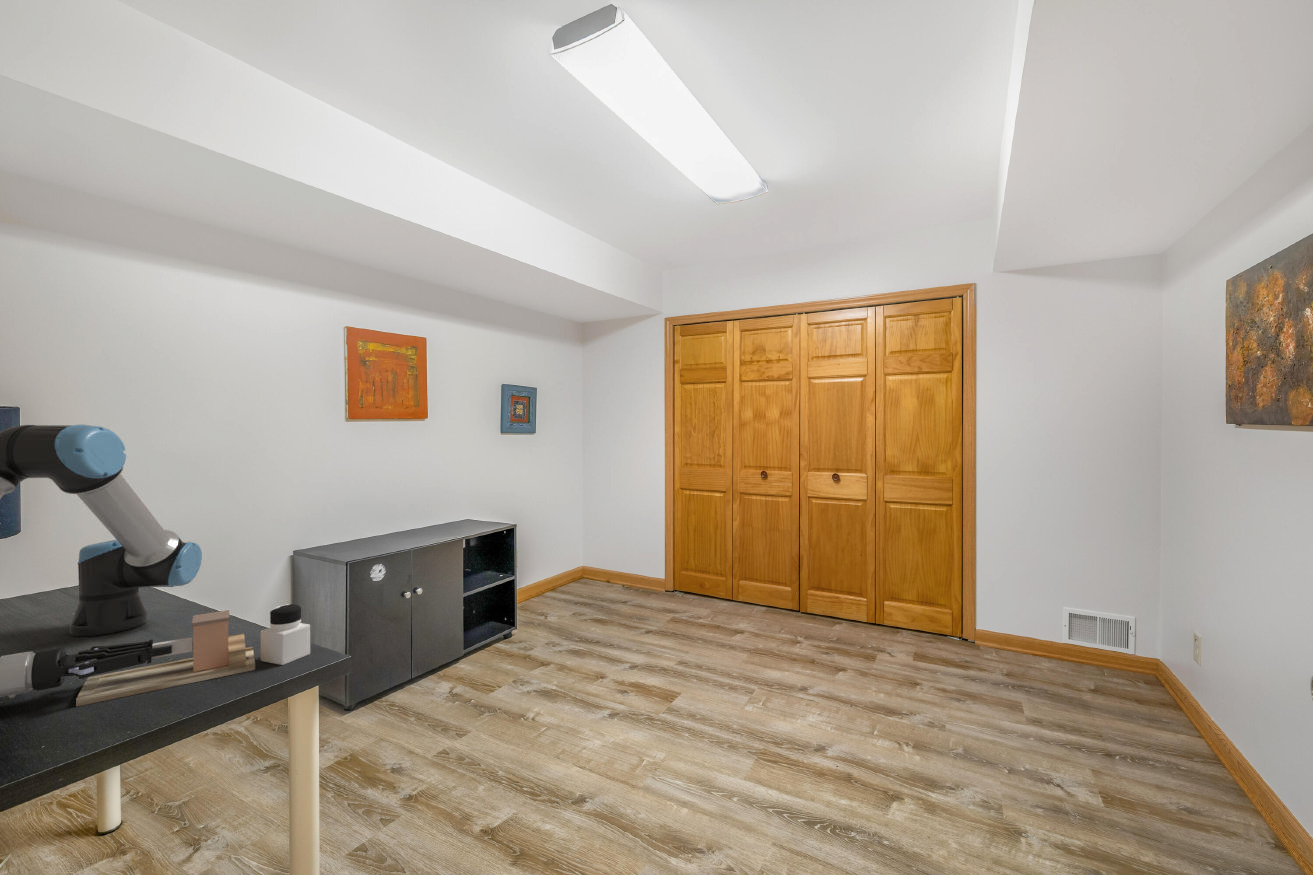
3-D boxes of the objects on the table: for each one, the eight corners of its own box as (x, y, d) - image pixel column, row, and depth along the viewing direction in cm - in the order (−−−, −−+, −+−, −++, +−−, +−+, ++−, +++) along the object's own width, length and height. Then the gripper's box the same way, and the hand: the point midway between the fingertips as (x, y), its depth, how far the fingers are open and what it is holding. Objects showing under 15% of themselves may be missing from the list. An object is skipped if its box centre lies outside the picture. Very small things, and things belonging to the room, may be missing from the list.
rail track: (88, 684, 118) (88, 660, 118) (253, 652, 135) (253, 631, 135) (76, 706, 109) (76, 680, 109) (255, 669, 126) (255, 647, 125)
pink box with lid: (193, 662, 126) (193, 615, 126) (229, 655, 130) (229, 609, 130) (192, 672, 121) (191, 623, 121) (229, 665, 125) (229, 617, 125)
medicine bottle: (311, 653, 135) (311, 603, 134) (282, 665, 128) (282, 612, 128) (289, 650, 137) (288, 600, 137) (259, 661, 130) (259, 609, 130)
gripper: (43, 678, 114) (194, 652, 129) (24, 703, 104) (190, 671, 118) (43, 641, 114) (194, 619, 129) (24, 662, 104) (190, 635, 118)
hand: (192, 644), depth 123 cm, fingers closed
